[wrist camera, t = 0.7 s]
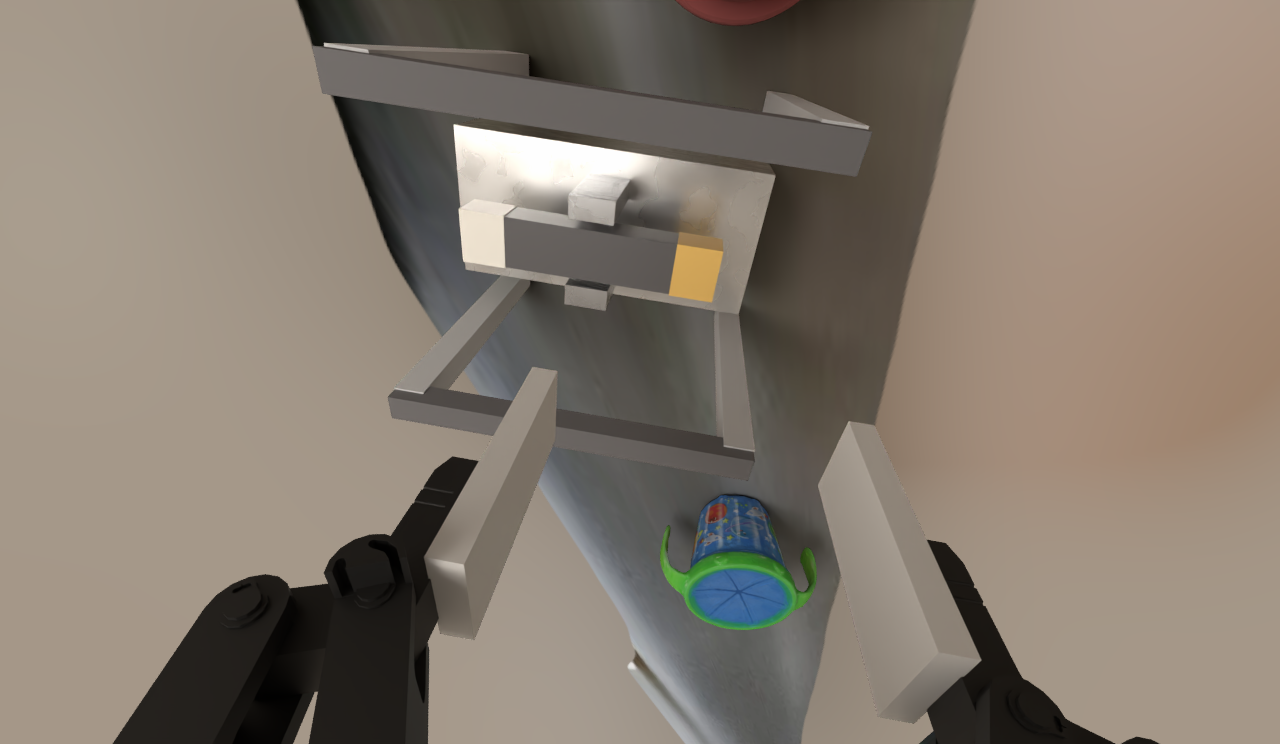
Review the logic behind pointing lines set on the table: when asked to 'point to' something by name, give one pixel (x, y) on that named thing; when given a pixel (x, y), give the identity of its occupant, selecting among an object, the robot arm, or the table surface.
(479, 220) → the lever
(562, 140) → the grey box
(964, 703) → the robot arm
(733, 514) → the snack cup
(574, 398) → the table surface
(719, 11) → the mechanical component
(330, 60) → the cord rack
